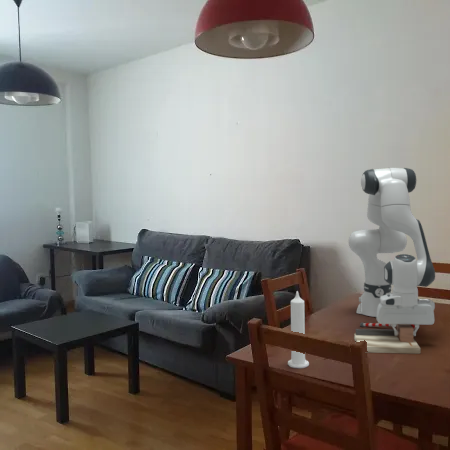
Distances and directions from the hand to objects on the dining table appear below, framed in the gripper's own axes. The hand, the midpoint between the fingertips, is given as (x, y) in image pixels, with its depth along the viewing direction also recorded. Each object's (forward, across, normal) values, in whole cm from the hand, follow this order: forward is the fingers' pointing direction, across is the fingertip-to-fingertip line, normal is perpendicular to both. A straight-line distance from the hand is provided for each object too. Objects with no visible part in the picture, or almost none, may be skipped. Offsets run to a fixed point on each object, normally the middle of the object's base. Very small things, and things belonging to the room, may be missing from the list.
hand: (404, 335), depth 184 cm
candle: (+4, +39, +24) cm, 46 cm away
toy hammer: (+4, 0, -18) cm, 19 cm away
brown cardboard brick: (+1, 0, 0) cm, 1 cm away
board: (+3, +7, +2) cm, 8 cm away
